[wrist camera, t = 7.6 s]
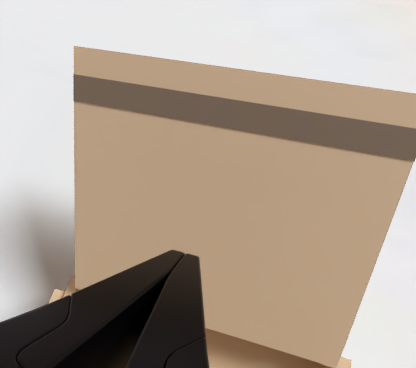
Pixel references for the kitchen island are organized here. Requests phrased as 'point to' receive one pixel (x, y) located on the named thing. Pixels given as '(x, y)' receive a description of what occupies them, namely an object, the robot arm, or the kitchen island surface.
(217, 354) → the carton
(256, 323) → the flap
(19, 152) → the kitchen island surface
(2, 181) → the kitchen island surface
